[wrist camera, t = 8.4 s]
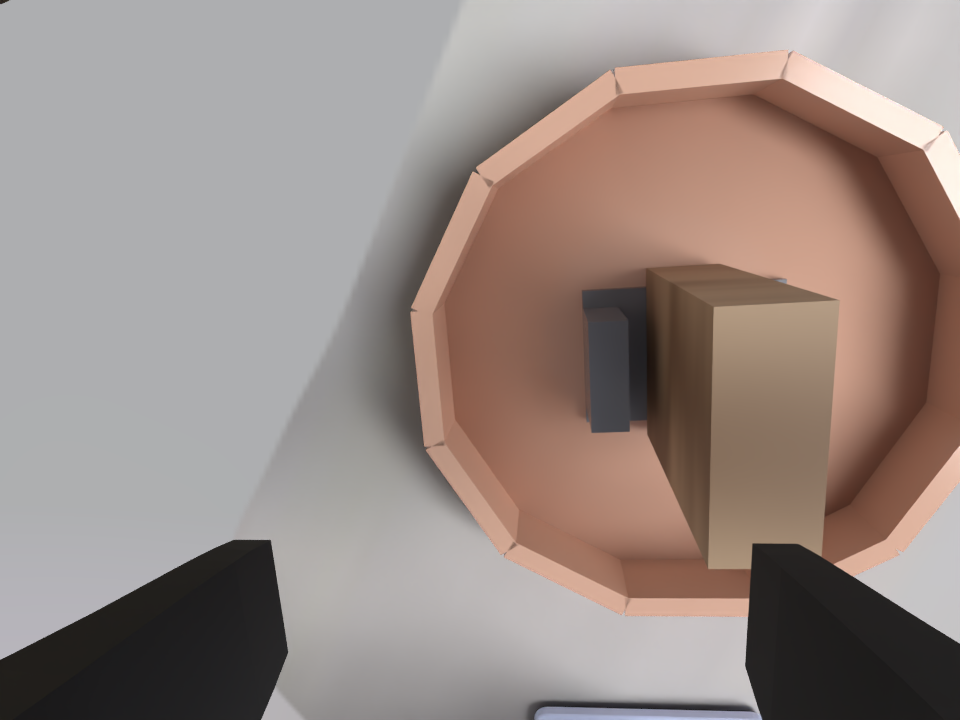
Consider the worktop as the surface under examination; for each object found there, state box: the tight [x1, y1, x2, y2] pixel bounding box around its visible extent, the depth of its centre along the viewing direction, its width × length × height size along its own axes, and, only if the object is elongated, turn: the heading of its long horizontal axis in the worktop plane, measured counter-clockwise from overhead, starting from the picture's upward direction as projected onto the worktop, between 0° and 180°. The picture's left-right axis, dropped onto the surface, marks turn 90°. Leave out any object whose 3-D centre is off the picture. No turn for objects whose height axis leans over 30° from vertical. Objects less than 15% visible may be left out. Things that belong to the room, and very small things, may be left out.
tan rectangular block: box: [646, 264, 840, 569], centre depth 14 cm, size 5×2×7 cm, turn 4°
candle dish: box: [410, 50, 960, 617], centre depth 17 cm, size 15×15×3 cm
